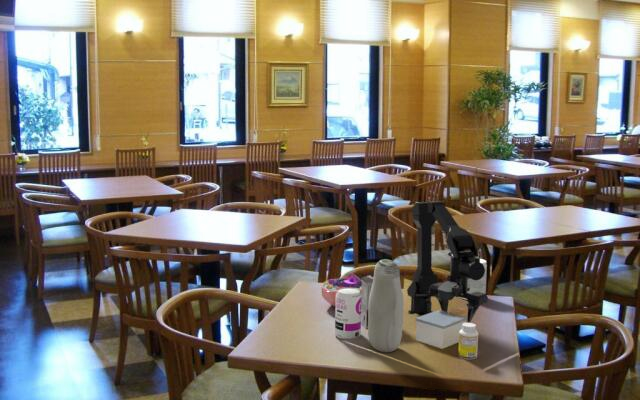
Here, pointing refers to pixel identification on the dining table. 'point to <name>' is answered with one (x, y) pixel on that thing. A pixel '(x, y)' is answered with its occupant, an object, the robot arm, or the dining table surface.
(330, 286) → the cell model
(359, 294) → the supplement can
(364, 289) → the coffee box
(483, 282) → the supplement tub
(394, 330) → the grey tall bottle
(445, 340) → the tub
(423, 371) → the dining table surface
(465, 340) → the supplement bottle
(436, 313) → the lid
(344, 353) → the dining table surface
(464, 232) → the robot arm
